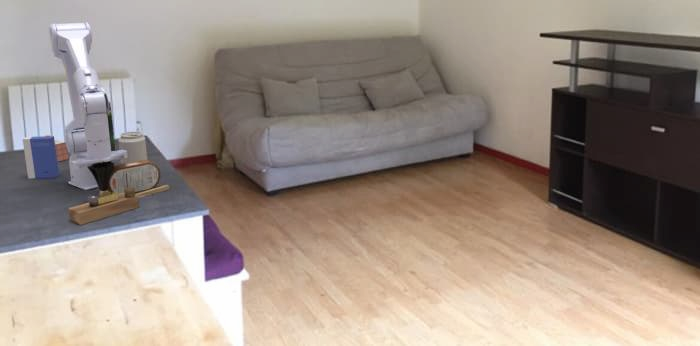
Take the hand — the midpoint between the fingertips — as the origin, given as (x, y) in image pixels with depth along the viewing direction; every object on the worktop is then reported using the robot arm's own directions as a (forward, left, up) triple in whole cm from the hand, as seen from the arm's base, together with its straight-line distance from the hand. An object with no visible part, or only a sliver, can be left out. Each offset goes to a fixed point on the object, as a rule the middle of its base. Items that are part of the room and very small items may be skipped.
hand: (103, 190), depth 180 cm
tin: (0, +9, -3) cm, 9 cm away
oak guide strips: (0, +9, -3) cm, 9 cm away
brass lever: (+9, -6, 0) cm, 11 cm away
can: (-15, +19, -3) cm, 24 cm away
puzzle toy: (-46, +11, -3) cm, 47 cm away
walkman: (-32, 0, -3) cm, 32 cm away
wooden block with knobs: (+8, -5, -3) cm, 10 cm away
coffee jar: (-39, +23, -3) cm, 45 cm away
